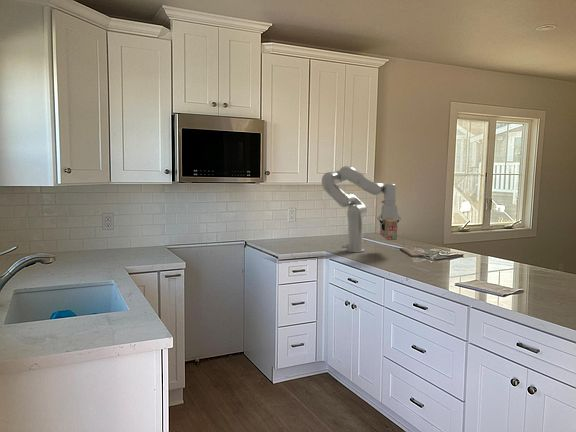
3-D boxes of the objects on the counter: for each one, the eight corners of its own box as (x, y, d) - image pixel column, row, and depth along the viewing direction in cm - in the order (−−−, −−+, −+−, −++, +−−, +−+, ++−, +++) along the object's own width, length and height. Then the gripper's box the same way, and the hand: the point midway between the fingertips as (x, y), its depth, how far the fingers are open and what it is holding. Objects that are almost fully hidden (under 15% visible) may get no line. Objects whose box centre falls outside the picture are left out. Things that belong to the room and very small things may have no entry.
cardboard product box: (379, 234, 314) (380, 216, 313) (389, 234, 314) (389, 216, 313) (387, 240, 293) (387, 220, 291) (396, 240, 293) (397, 220, 291)
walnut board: (412, 257, 290) (412, 255, 290) (400, 249, 317) (400, 247, 317) (431, 256, 291) (431, 254, 291) (417, 249, 317) (417, 247, 317)
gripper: (377, 203, 296) (376, 231, 298) (404, 203, 296) (403, 231, 299) (375, 202, 303) (374, 229, 305) (401, 202, 304) (400, 229, 306)
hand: (388, 229), depth 302 cm, fingers closed on cardboard product box, 6 cm apart
